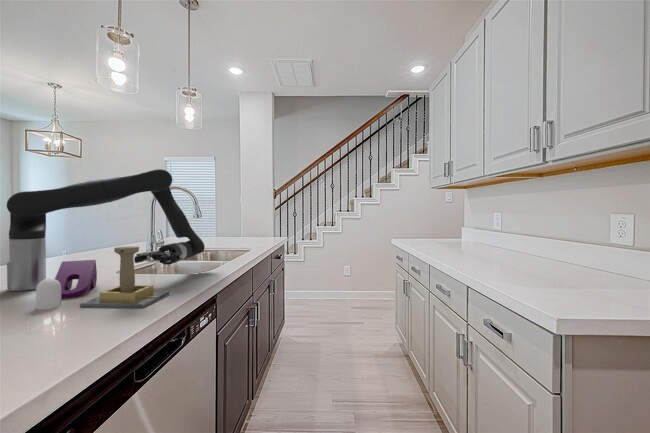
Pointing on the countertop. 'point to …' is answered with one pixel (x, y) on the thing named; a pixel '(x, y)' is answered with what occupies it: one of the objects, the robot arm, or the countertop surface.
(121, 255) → the handle
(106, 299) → the plate
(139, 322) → the countertop surface
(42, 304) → the capsule
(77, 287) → the mounting bracket
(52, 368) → the countertop surface
